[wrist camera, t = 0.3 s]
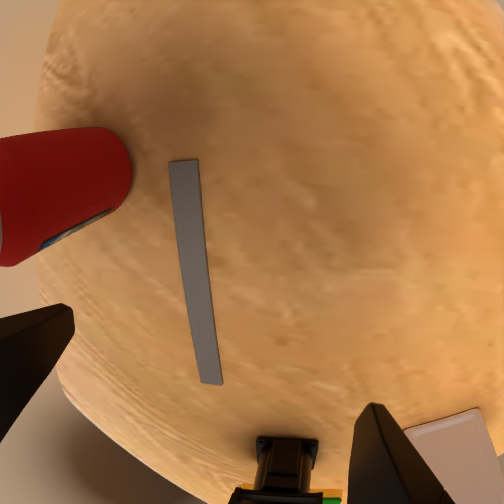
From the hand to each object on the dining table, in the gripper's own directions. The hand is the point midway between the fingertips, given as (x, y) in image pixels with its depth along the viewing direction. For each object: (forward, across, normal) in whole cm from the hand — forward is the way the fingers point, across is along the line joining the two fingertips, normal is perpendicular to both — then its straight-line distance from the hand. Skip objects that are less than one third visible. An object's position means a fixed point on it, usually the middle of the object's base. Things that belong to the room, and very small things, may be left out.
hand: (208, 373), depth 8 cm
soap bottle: (+14, -24, +16) cm, 32 cm away
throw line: (+14, +4, +6) cm, 16 cm away
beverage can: (+14, +13, -1) cm, 19 cm away
